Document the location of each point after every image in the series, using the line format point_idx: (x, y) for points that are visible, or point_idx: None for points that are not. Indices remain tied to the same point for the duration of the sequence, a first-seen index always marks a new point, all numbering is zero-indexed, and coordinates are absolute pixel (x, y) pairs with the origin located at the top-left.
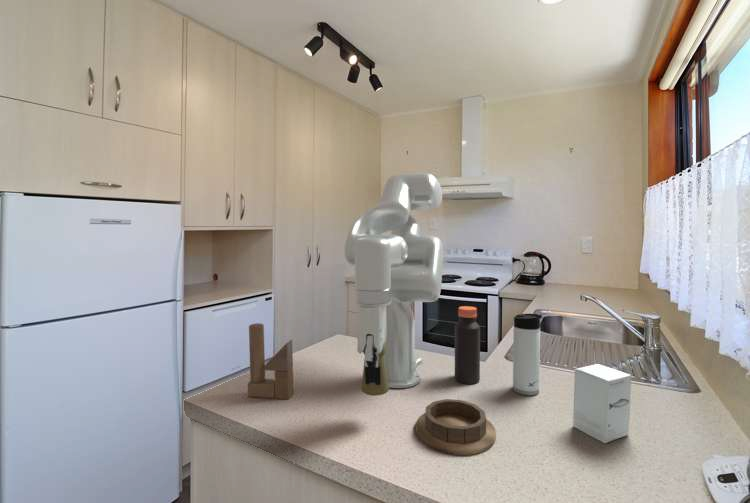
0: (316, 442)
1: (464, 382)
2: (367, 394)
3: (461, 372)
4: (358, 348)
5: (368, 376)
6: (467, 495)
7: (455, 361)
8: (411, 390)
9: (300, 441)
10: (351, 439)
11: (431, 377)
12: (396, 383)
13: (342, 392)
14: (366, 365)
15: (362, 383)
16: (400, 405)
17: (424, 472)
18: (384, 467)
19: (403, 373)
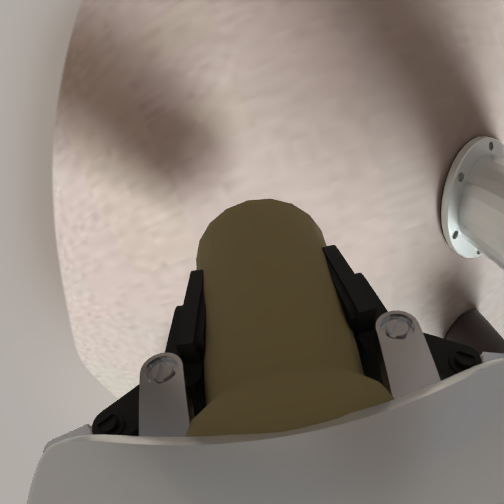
0: (80, 110)
1: (448, 333)
2: (198, 250)
3: (462, 341)
4: (33, 478)
5: (172, 323)
6: (112, 392)
7: (485, 338)
8: (434, 247)
9: (72, 70)
10: (128, 188)
11: (480, 268)
12: (452, 212)
13: (394, 50)
14: (144, 375)
15: (225, 230)
16: (357, 246)
17: (116, 352)
18: (85, 297)
19: (475, 237)
